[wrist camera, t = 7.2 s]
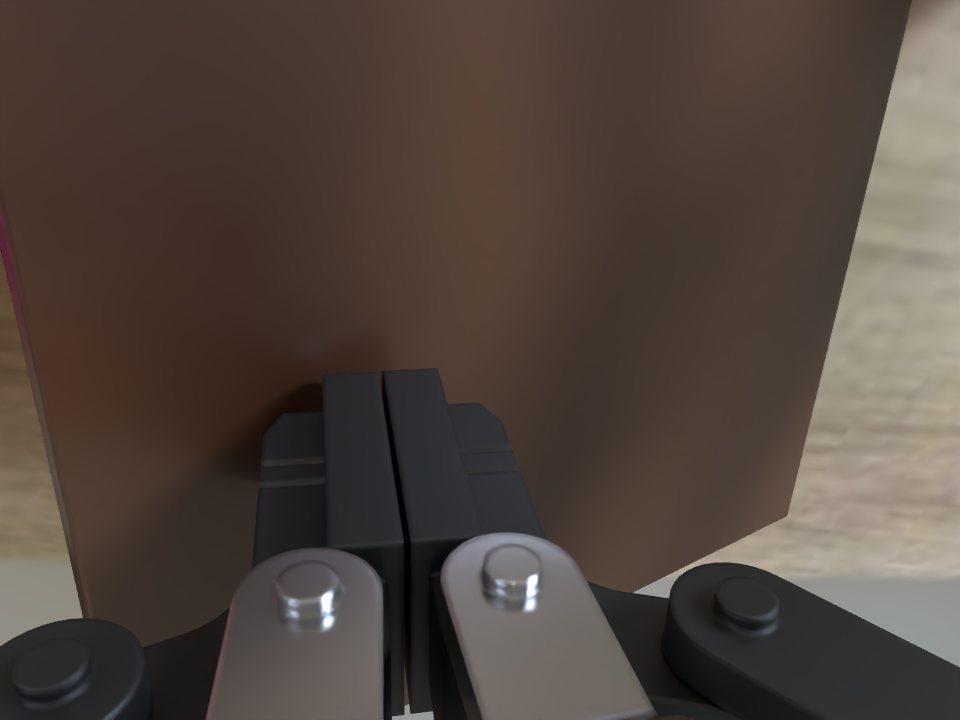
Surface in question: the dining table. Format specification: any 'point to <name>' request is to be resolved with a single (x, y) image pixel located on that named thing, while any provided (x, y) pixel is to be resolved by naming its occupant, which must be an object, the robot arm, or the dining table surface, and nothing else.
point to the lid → (429, 255)
